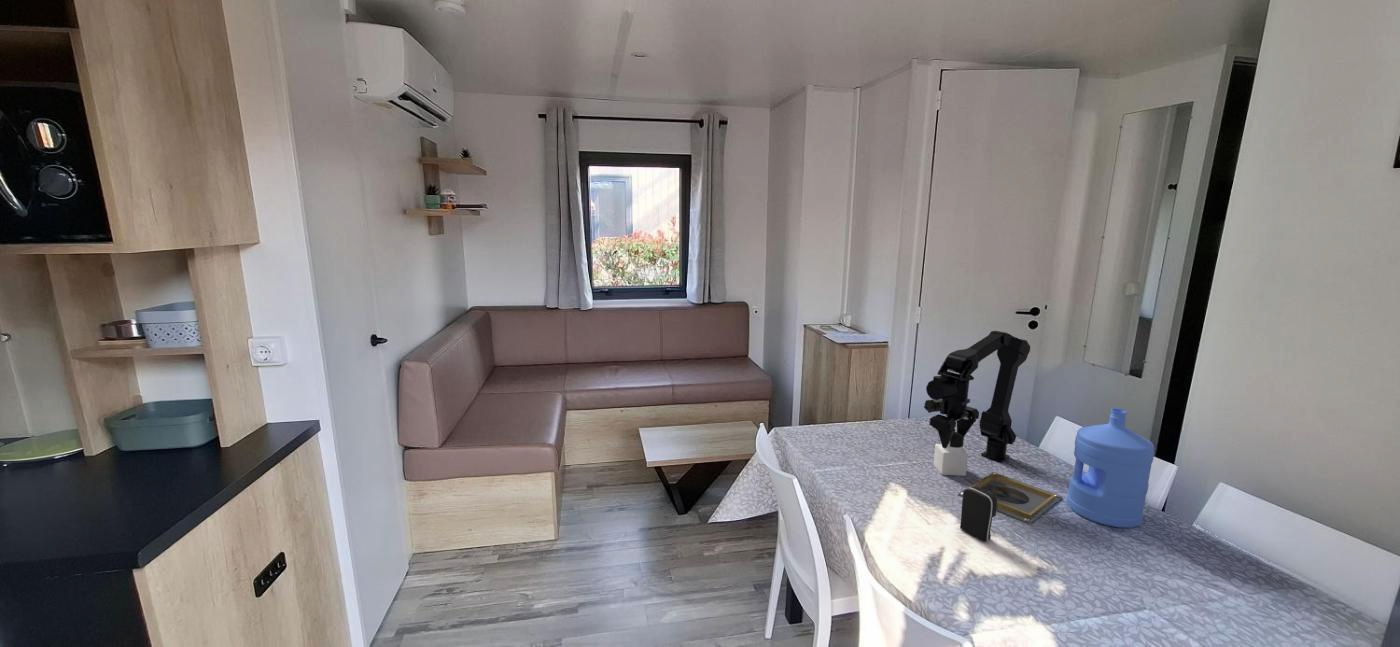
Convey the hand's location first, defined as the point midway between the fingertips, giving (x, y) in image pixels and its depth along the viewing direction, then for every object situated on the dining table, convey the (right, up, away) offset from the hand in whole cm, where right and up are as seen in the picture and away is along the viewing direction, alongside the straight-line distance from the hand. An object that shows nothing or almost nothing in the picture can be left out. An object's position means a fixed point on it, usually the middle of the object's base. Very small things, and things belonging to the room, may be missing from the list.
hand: (951, 444), depth 153 cm
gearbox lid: (+9, -11, -14) cm, 20 cm away
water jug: (+29, -13, -21) cm, 38 cm away
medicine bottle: (0, -9, +2) cm, 9 cm away
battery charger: (-10, -14, -32) cm, 36 cm away
